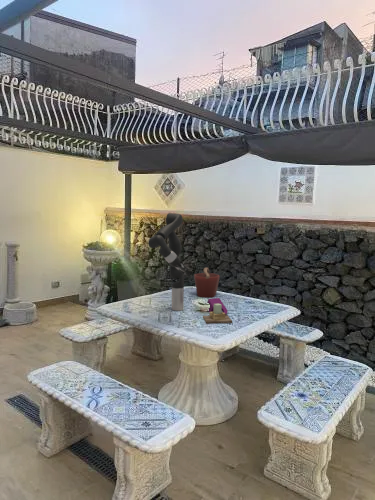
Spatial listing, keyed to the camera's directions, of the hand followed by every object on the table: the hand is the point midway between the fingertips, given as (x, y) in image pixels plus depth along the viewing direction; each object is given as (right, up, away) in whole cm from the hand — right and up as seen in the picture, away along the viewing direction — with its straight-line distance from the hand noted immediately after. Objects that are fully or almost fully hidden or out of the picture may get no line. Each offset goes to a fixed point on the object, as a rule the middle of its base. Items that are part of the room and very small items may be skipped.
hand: (186, 274), depth 257 cm
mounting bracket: (+23, -31, +23) cm, 45 cm away
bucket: (+17, -24, +77) cm, 82 cm away
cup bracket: (+21, -33, +4) cm, 39 cm away
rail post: (+21, -31, +4) cm, 38 cm away
